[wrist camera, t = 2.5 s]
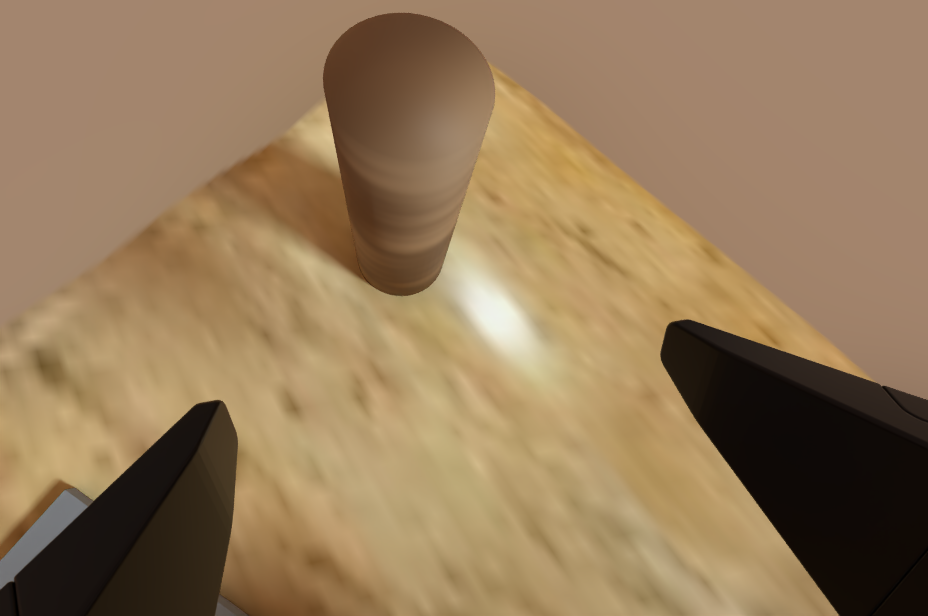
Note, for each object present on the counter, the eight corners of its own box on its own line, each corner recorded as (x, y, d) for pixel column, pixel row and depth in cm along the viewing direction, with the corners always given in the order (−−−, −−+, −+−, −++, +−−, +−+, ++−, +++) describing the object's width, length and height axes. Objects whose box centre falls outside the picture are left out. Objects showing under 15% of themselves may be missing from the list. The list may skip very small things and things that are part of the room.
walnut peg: (459, 248, 24) (526, 77, 12) (410, 312, 23) (431, 192, 11) (392, 200, 25) (393, -15, 13) (339, 262, 23) (285, 89, 11)
